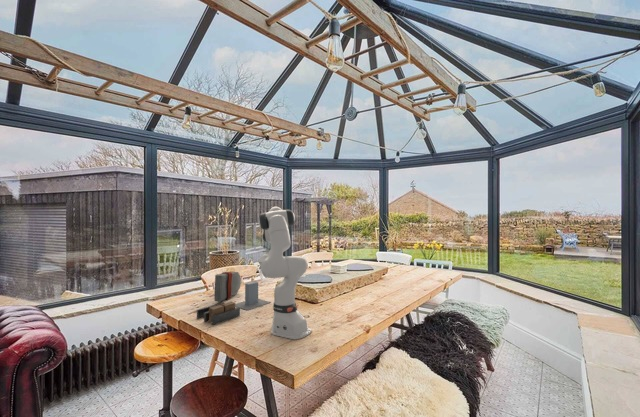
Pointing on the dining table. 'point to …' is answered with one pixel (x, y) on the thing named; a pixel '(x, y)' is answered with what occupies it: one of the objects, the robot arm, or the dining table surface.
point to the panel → (251, 293)
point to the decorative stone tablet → (226, 285)
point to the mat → (248, 307)
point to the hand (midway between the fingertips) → (264, 269)
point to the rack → (218, 317)
